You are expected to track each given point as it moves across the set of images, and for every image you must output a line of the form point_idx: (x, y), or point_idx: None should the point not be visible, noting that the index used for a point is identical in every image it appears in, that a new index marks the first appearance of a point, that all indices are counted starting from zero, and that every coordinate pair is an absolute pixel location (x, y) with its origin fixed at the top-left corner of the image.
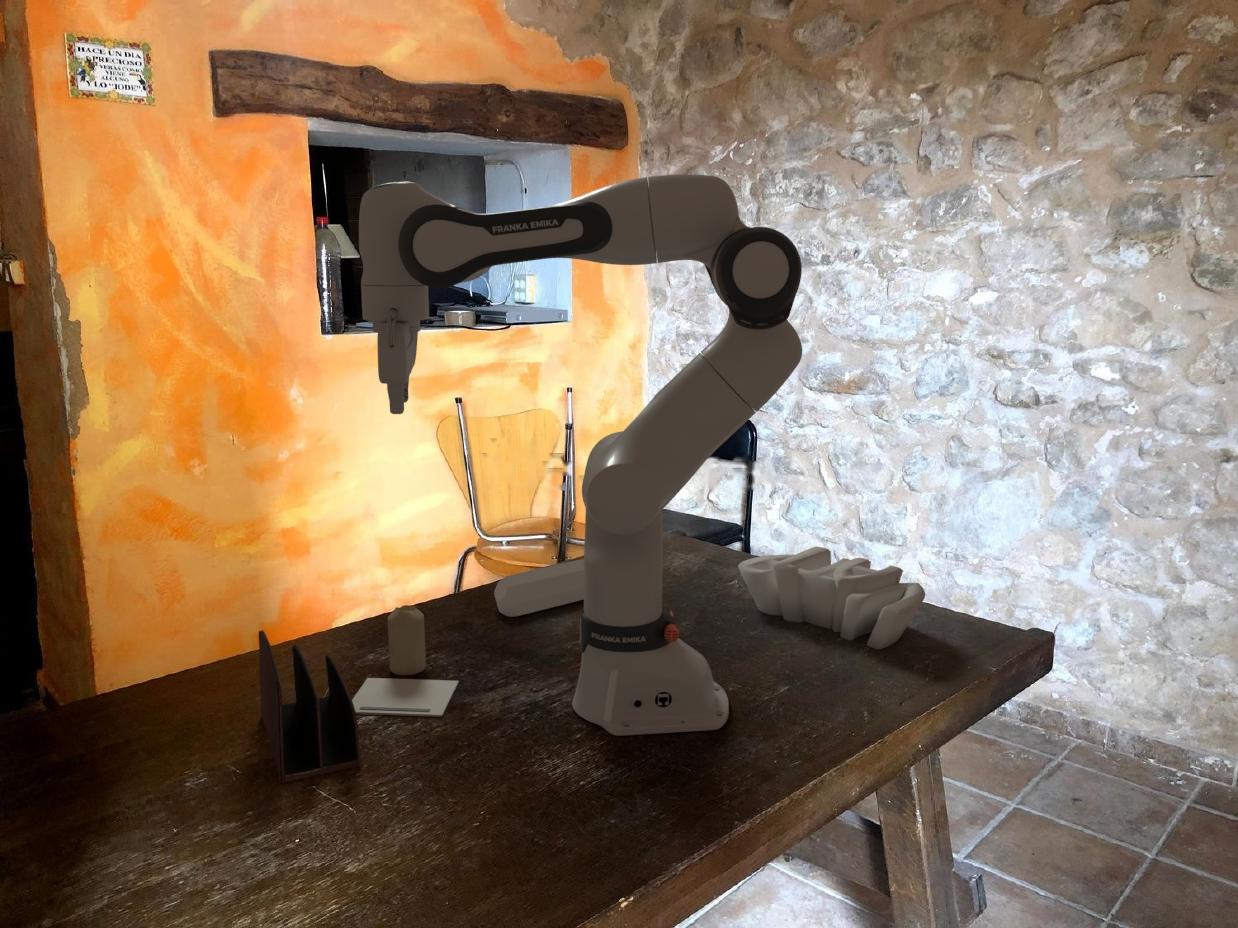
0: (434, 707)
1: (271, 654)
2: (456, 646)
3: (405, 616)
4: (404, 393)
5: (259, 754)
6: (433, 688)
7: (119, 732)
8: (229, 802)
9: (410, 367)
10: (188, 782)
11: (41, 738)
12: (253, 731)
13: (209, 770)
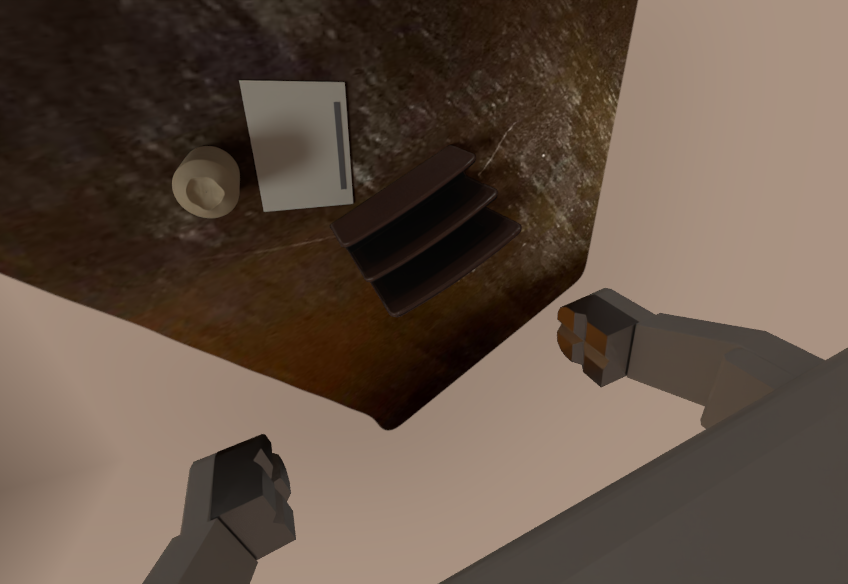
0: (327, 97)
1: (476, 265)
2: (95, 116)
3: (226, 185)
4: (271, 487)
5: None
6: (273, 113)
7: (406, 358)
8: None
9: (771, 501)
10: None
11: (418, 395)
12: None
13: None
